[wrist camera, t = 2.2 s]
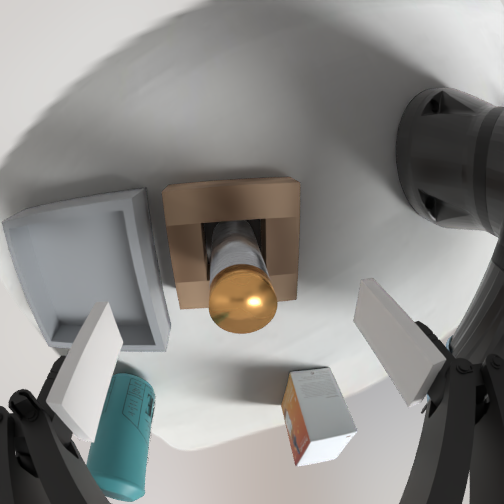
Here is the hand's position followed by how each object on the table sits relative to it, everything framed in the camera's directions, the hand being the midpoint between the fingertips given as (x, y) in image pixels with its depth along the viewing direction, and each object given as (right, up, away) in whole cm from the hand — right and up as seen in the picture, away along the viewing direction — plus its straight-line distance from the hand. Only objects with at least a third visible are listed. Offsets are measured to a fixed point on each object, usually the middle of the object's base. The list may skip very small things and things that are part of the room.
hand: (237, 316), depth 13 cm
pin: (-1, +4, +10) cm, 11 cm away
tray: (-15, +2, +10) cm, 18 cm away
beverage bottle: (-14, -13, +17) cm, 25 cm away
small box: (+8, -15, +20) cm, 26 cm away
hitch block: (-1, +4, +10) cm, 11 cm away
